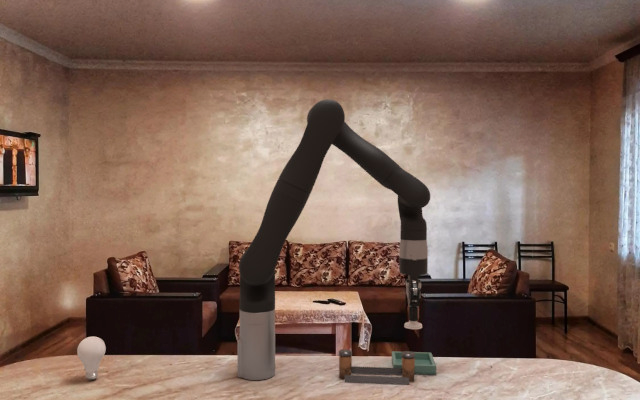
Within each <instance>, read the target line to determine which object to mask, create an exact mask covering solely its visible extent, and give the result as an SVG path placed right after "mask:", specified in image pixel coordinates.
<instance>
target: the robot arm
mask: <svg viewBox="0 0 640 400" xmlns="http://www.w3.org/2000/svg"><path fill="white" fill-rule="evenodd" d="M306 116H307V117H306V127H305V130H304V132H303V134H302V137H301V139H300V142H299V144H298V145H297V147H296V149H295V151H294V152H293V154H292V155H291V156H290V158H289V160H288V161H287V162H286V164H285V166H284V168H283V169H282V170H281V173H280V175H279V176H278V178H277V181H276V183H275V185H274V187H273V189H272V191H271V194H270V197H269V199H268V201H267V204H266V207H265V210H264V214H263V217H262V220H261V223H260V226H259V228H258V230H257V232H256V234H255V236H254V238H253V240H252V241H251V243H250V245H249V247H248V248H247V250H244V252H243V253H242V256H241V257H240V260H239V264H238V271H239V302H238V303H239V337H238V340H237V343H236V344H237V347H236V348H237V349H236V350H237V355H236V356H237V378H242V379H245V380H248V381H262V380H267V379H271V378H272V377H274V376H275V374H276V267H277V264H278V261H279V258H280V257H281V252H282V250H283V247H284V245H285V243H286V240H287V238H288V237H289V234H290V233H291V231H292V229H293V228H294V226H295V225H296V223H297V222H298V220H299V218H300V216H301V214H302V212H303V210H304V208H305V206H306V204H307V203H308V200H309V198H310V196H311V195H312V191H313V189H314V186H315V184H316V181H317V179H318V176H319V174H320V171H321V168H322V165H323V163H324V159H325V158H326V155H327V154H328V151H329V150H330V148H331V147H332V145H333V146H334V147H335V148H337V149H338V150H340V151H342V153H344V154H345V155H347V156H348V157H349V158H350V159H351V160H352V161H354V163H356V164H357V165H358V166H360V168H361V169H363V170H364V172H366V173H367V174H368V175H370V176H371V177H372V178H373V179H374V180H375V181H377V182H378V183H379V184H380V185H381V186H383V187H384V188H386V189H387V190H390V191H392V192H393V193H394V194H396V195H397V207H398V208H397V209H398V214H399V220H400V233H399V234H400V241H399V242H400V243H399V253H398V255H399V257H398V258H399V259H398V260H399V267H398V268H399V271H398V272H399V273H400V274H401V275H405V276H407V279H405V287H406V289H405V290H406V291H405V293H406V299H407V304H408V319H409V320H410V321H417V322H418V320H419V319H418V318H419V315H418V314H419V313H418V312H419V307H420V300H421V289H422V281H421V279H419V276H424V275H427V274H428V260H429V259H428V258H429V257H428V240H427V239H428V238H427V229H428V228H427V227H428V226H427V221H426V220H425V218H424V216H423V208H425V207H426V206H427V205H428V204H429V203H430V202H431V201H430V200H431V192H430V189H429V188H428V186H427V185H426V184H425V183H423V182H422V181H421V180H420V179H418V178H417V177H415V176H414V175H413V174H411V173H410V172H409V171H406V170H405V169H404V168H402V167H401V165H399V164H398V163H397V162H396V161H395V160H393V159H392V158H391V157H390V156H389V155H388V154H387V153H386V152H384V151H382V150H381V148H379V147H377V146H376V145H374V144H373V143H370V142H369V141H368V140H366V139H365V138H364V137H362V136H361V135H359V134H358V133H357V132H355V131H354V130H353V129H352V128H351V127H350V126H349V125H348V124H347V122H346V121H345V119H346V117H345V116H346V115H345V110H344V108H343V106H342V105H341V104H340V102H339V101H336V100H333V99H328V98H327V99H323V100H319V101H317V102H316V103H314V105H313V106H312V107H311V108H310V109H309V110H308V113H307V115H306ZM412 300H416V302H412ZM409 320H408V321H409ZM410 321H409V322H410Z"/></svg>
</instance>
